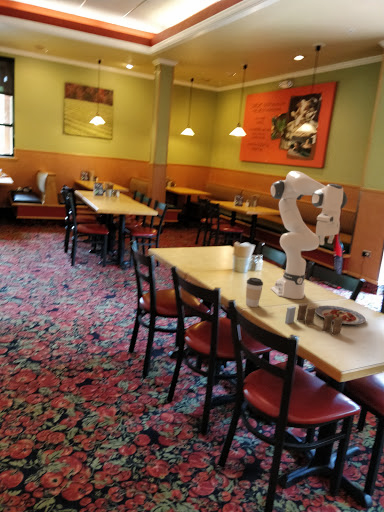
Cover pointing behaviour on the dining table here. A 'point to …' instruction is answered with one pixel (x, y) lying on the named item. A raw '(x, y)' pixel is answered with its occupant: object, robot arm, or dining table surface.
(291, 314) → the tile
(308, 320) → the tile
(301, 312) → the tile
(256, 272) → the dining table surface
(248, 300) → the coffee cup
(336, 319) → the tile
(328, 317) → the tile
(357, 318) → the ceramic plate
